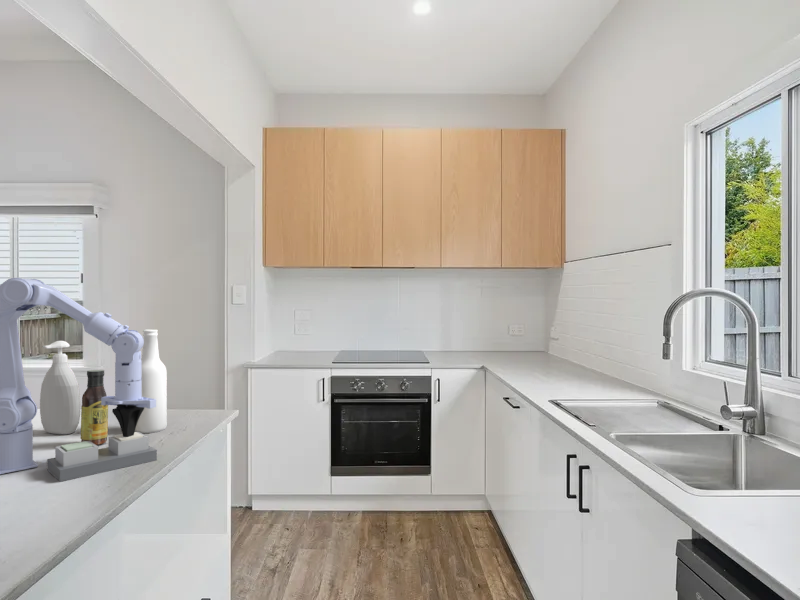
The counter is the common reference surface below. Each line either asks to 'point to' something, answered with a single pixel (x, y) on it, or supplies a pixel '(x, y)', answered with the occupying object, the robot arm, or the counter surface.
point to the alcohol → (153, 386)
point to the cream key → (121, 438)
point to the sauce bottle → (94, 410)
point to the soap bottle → (60, 395)
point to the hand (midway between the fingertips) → (128, 435)
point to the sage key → (76, 446)
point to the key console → (100, 458)
